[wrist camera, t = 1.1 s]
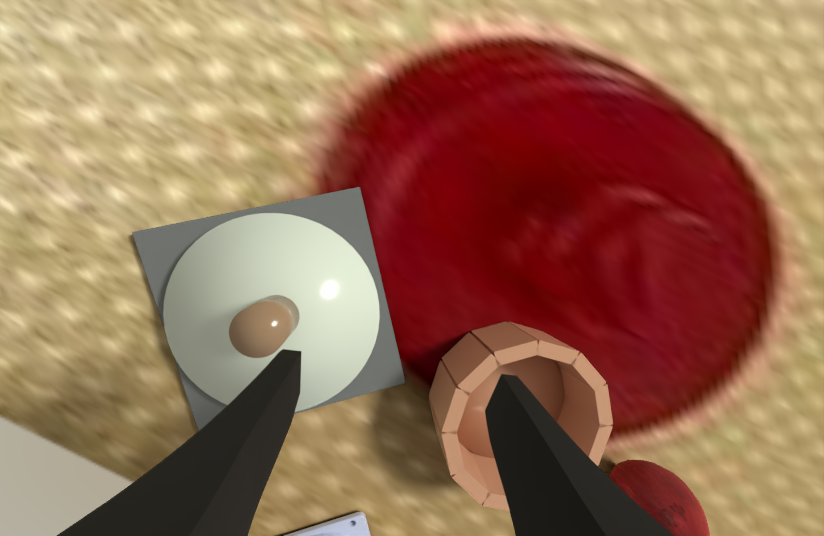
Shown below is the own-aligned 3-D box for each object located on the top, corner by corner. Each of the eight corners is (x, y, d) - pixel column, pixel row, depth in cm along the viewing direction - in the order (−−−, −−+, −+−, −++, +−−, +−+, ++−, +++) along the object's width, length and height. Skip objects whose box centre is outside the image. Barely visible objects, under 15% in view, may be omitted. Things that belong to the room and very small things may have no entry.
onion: (581, 499, 27) (669, 609, 19) (589, 439, 26) (684, 525, 18) (638, 497, 27) (746, 601, 20) (647, 438, 27) (762, 521, 19)
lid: (206, 431, 21) (165, 479, 17) (142, 238, 19) (78, 238, 15) (397, 378, 23) (404, 410, 18) (354, 195, 21) (349, 184, 17)
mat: (205, 434, 22) (201, 439, 21) (138, 232, 20) (132, 232, 19) (404, 379, 23) (405, 382, 23) (359, 188, 21) (359, 186, 21)
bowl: (447, 480, 25) (463, 533, 20) (416, 345, 23) (427, 370, 19) (578, 438, 26) (621, 480, 22) (557, 308, 24) (598, 323, 20)
